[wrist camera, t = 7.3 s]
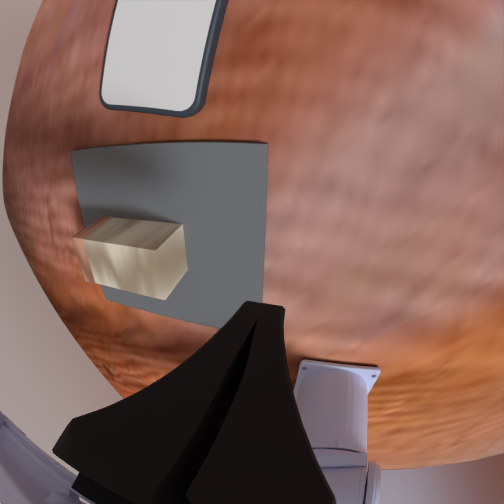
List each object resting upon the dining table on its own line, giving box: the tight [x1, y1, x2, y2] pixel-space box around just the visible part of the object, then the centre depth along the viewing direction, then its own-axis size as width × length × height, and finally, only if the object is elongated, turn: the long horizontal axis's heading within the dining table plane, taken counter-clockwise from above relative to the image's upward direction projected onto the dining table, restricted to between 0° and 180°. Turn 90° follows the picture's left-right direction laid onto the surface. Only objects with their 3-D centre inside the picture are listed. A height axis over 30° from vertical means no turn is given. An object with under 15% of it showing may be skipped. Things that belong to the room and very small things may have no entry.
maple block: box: [72, 216, 188, 300], centre depth 21 cm, size 4×4×8 cm
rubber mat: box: [71, 141, 268, 329], centre depth 22 cm, size 16×17×1 cm
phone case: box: [100, 0, 228, 118], centre depth 13 cm, size 9×2×16 cm
